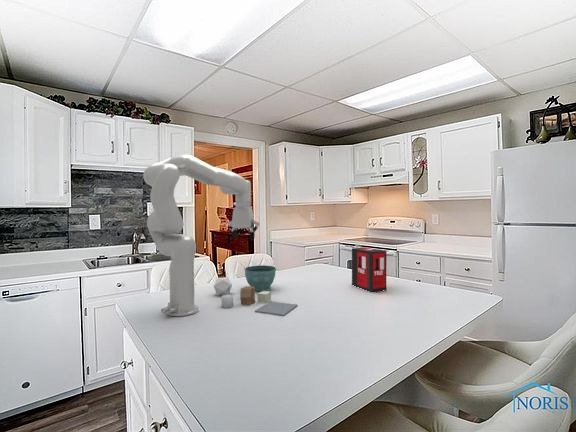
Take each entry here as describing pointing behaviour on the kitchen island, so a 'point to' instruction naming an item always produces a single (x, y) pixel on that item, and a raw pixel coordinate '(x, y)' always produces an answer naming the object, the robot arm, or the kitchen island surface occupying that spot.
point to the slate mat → (276, 308)
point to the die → (222, 286)
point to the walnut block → (247, 295)
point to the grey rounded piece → (227, 301)
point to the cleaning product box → (369, 269)
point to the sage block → (264, 296)
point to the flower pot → (260, 276)
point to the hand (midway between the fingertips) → (243, 239)
